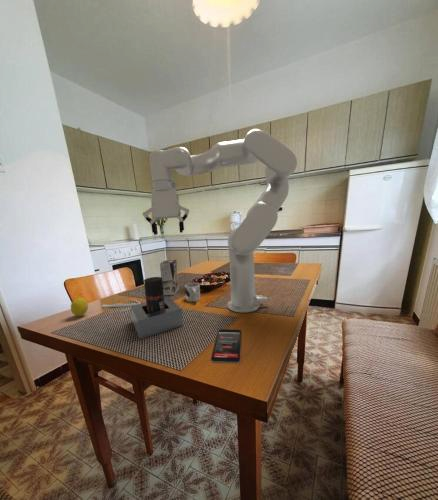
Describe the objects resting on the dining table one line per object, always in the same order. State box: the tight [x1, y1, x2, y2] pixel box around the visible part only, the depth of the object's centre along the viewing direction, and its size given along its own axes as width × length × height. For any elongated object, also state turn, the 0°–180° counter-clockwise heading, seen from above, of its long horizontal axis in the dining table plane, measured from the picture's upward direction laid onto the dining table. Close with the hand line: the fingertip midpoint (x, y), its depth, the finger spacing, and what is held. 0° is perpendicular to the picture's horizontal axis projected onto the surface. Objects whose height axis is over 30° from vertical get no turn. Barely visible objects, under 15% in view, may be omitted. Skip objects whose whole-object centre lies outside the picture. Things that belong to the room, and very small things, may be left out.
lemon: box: [70, 296, 89, 318], centre depth 80 cm, size 6×6×8 cm
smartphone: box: [210, 328, 242, 364], centre depth 57 cm, size 7×1×15 cm
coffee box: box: [159, 259, 179, 296], centre depth 103 cm, size 9×6×16 cm
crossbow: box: [101, 298, 141, 313], centre depth 89 cm, size 16×13×2 cm
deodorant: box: [143, 276, 165, 314], centre depth 70 cm, size 6×6×15 cm
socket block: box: [130, 296, 184, 340], centre depth 71 cm, size 14×14×6 cm
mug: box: [184, 282, 201, 303], centre depth 91 cm, size 10×7×7 cm
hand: (168, 233), depth 77 cm, fingers open, 9 cm apart
